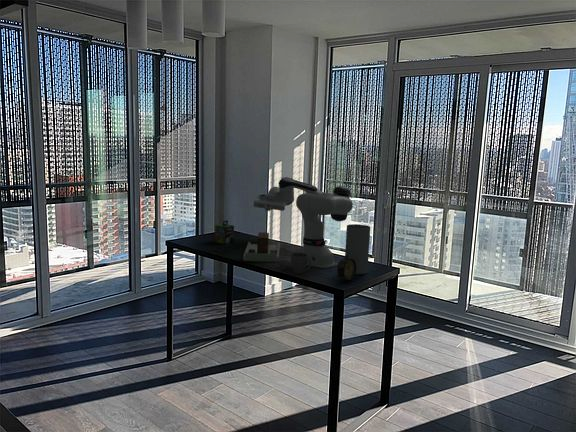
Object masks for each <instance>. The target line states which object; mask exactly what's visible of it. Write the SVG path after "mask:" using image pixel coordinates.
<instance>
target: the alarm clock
mask: <svg viewBox="0 0 576 432" xmlns="http://www.w3.org/2000/svg"><path fill="white" fill-rule="evenodd" d="M346 251H348V250H346ZM344 252H345V251H344ZM348 254H349V251H348ZM345 256H346V258H345ZM336 268H337V275H338V278H340V279H341V281H342V282H341V284H344V281H351V280H352V279H354V277H355V272H356V263H355V261H354V260H353V259H350V258H348V255H346V252H345V253H344V257H343V258H342V259H341V260H339V262H338V265H337V267H336Z"/></svg>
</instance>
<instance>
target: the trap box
mask: <svg viewBox="0 0 576 432" xmlns="http://www.w3.org/2000/svg"><path fill="white" fill-rule="evenodd" d="M280 246H281V243H280V242H278V243H277V244H269V251H268V254H267V253H257V243H256V244H255V243H251V241H248V243H247V246H246V248H245V250H244V253H243V256H242V257H243V258H242V261H245V262H246V261H247V262H264V263H265V262H266V263H267V262H270V263H279V259H280V258H279V257H280ZM250 250H254V252H249V251H250ZM271 251H276V253H271Z"/></svg>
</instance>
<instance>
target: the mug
mask: <svg viewBox="0 0 576 432" xmlns="http://www.w3.org/2000/svg"><path fill="white" fill-rule="evenodd" d="M307 262H309V265H307ZM290 264H291V268H292V271H293V273H294V274H297V275H300V274H304V273H305V271H309V270H310V269H311V267H312V266H311V260H310V259H308V255H307V254H305V253H302V252H293V253H291V255H290ZM306 267H307V268H306Z"/></svg>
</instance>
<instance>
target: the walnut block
mask: <svg viewBox="0 0 576 432" xmlns="http://www.w3.org/2000/svg"><path fill="white" fill-rule="evenodd" d="M256 241H257V243H256V244H257V253H267V254H268V251H269V245H270V232H258V234H257V239H256Z"/></svg>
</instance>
